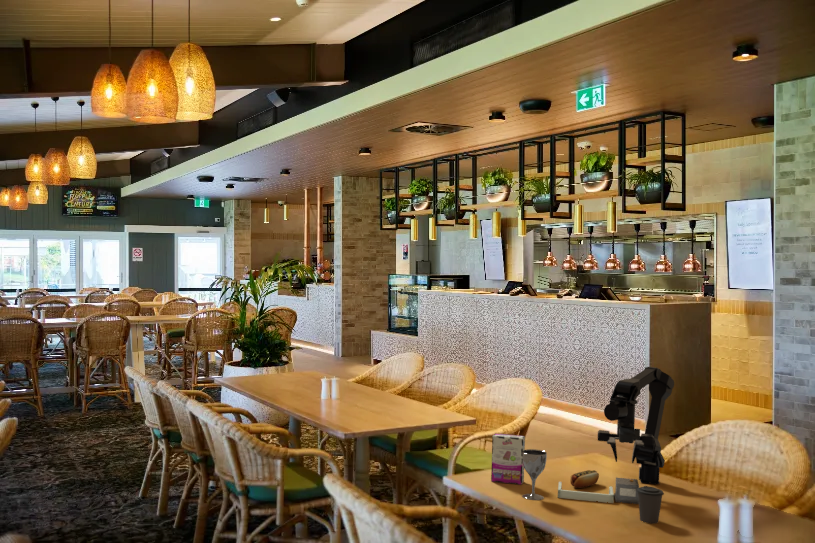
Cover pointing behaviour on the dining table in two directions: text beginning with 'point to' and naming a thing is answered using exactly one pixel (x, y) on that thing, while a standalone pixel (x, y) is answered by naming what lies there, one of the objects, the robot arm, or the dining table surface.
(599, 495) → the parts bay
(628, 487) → the box
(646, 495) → the coffee cup
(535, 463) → the wine glass
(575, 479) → the hot dog
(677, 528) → the dining table surface
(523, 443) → the candy bar box
